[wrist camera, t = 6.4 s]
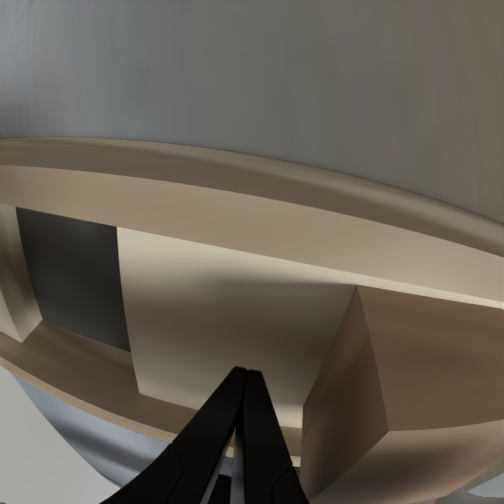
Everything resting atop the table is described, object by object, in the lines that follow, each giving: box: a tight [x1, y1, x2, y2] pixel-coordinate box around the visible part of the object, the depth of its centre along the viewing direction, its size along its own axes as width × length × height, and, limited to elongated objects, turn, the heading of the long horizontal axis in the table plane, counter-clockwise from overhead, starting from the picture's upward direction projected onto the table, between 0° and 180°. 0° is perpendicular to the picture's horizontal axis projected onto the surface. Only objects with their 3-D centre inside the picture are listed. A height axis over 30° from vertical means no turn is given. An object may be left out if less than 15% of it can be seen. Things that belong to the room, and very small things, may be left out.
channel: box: [0, 137, 504, 467], centre depth 10 cm, size 11×25×4 cm, turn 81°
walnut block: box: [299, 284, 504, 504], centre depth 7 cm, size 6×6×4 cm
